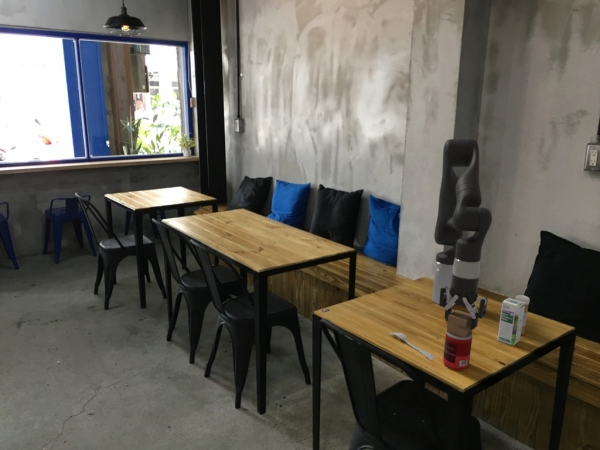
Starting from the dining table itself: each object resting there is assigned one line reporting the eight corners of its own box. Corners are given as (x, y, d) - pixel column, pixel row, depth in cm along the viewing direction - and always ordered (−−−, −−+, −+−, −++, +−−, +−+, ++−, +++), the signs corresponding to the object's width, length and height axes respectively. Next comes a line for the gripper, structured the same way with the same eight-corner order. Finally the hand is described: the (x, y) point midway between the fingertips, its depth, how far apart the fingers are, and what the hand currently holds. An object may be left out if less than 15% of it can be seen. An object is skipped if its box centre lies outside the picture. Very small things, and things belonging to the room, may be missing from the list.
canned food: (471, 362, 149) (474, 330, 146) (465, 373, 142) (469, 340, 139) (446, 355, 152) (449, 324, 150) (439, 366, 146) (443, 333, 143)
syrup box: (496, 340, 163) (501, 301, 160) (503, 335, 167) (509, 296, 164) (513, 346, 159) (519, 306, 156) (520, 340, 163) (526, 301, 160)
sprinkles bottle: (508, 329, 172) (513, 294, 168) (520, 329, 172) (525, 294, 169) (515, 335, 167) (520, 299, 164) (527, 335, 168) (532, 299, 164)
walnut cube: (454, 326, 148) (456, 309, 147) (471, 331, 145) (473, 315, 143) (446, 331, 144) (448, 315, 143) (464, 337, 141) (466, 320, 139)
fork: (429, 367, 150) (431, 360, 149) (386, 334, 166) (387, 327, 165) (436, 365, 151) (437, 358, 150) (392, 332, 168) (393, 326, 167)
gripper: (495, 276, 138) (488, 328, 142) (448, 264, 147) (443, 314, 151) (484, 282, 133) (478, 336, 136) (437, 270, 142) (432, 321, 146)
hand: (460, 324), depth 144 cm, fingers open, 7 cm apart
